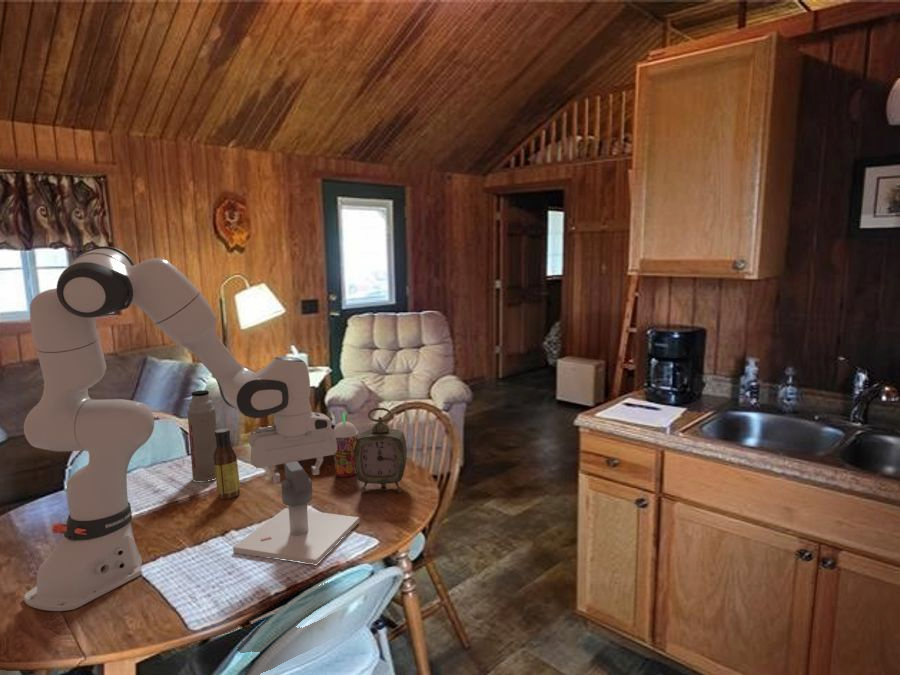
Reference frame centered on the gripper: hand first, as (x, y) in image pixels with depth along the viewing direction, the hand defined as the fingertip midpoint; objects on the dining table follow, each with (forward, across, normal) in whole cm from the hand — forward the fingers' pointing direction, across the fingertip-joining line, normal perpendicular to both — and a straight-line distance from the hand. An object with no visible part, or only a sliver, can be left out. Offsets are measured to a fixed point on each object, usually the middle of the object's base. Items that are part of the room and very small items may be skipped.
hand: (296, 477), depth 141 cm
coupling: (+6, 0, 0) cm, 6 cm away
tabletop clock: (+16, +29, +18) cm, 38 cm away
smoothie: (+16, +23, +35) cm, 45 cm away
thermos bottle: (+16, -17, +54) cm, 59 cm away
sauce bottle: (+16, -12, +36) cm, 41 cm away
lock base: (+15, 0, 0) cm, 16 cm away
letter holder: (+16, +15, +53) cm, 57 cm away
